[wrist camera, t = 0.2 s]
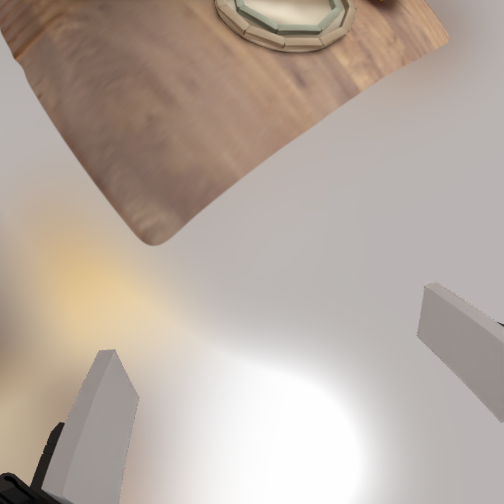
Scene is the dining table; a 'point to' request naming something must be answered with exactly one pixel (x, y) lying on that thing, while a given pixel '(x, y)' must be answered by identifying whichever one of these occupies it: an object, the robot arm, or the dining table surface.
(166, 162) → the dining table surface
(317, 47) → the tray
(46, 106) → the dining table surface
